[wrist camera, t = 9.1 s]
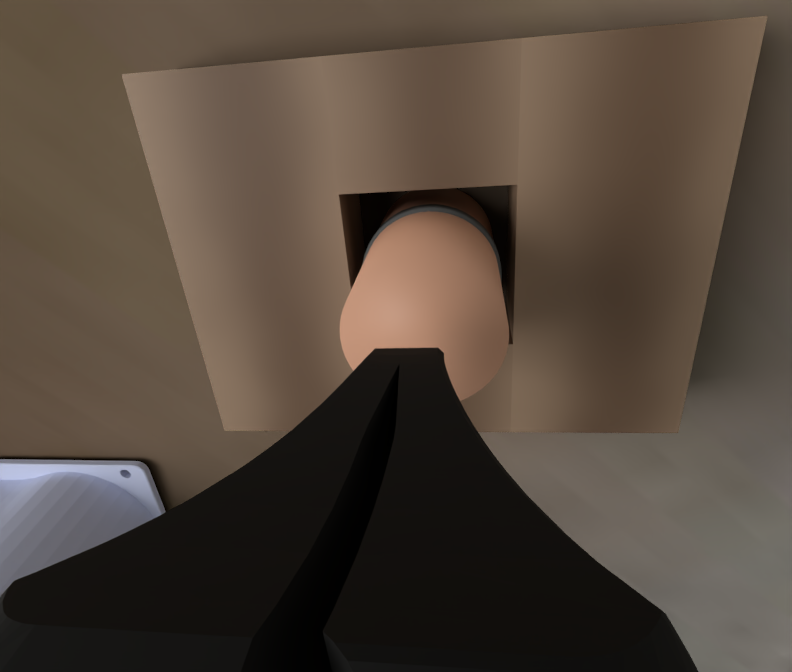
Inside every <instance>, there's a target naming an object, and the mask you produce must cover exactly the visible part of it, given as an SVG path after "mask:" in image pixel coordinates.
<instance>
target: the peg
mask: <svg viewBox="0 0 792 672" xmlns="http://www.w3.org/2000/svg"><path fill="white" fill-rule="evenodd" d="M501 278H502V273H501V264H500V258H499V253H498V250H497V247H496V244H495V242H494V240H493V234H492V229H491V225H490V222H489V219H488V217H487V215H486V213H485V212H484V210H483V209H482V207H481V206H480V205H479V204H478V203H477V202H476V201H475V200H474V199H473V198H471V197H470V196H469V195H467V194H465V193H464V192H462V191H459V190H457V189H454V188H447V189H429V190H412V191H410V192H408V193H406V194H405V195H403V196H402V197H401V198H399V199H398V200H397V201H396V202H395V203H394V204H393V205H392V206H391V207H390V209H389V210H388V212H387V213H386V215H385V217H384V219H383V221H382V223H381V225H380V227H379V229H378V230H377V231H376V233H375V234H374V236H373V237H372V239H371V241H370V243H369V245H368V248H367V250H366V252H365V255H364V259H363V265H362V267H361V269H360V272H359V274H358V276H357V278H356V280H355V283H354V285H353V287H352V289H351V291H350V294H349V296H348V298H347V300H346V303H345V305H344V308H343V310H342V314H341V319H340V340H341V345H342V349H343V352H344V355H345V357H346V359H347V361H348V363H349V365H350V367H351V368H352V370H353V371H354V370H355V369H356V368H357V366H358V365H359V364H360V363H361V362H362V361H363V360H364V359H365V358H366V357H367V356H368V355H369V354H370V353H371V352H372V351H373V350H374V349H375V348H439V349H440V350H441V351H442V352H443V353H444V362H445V366H446V369H447V372H448V375H449V378H450V380H451V383H452V385H453V388H454V390H455V392H456V394H457V396H458V398H459V400H460V401H461V400H464V399H466V398H468V397H470V396H472V395H473V394H475V393H477V392H478V391H479V390H481V389H482V388H483V387H484V386H486V385H487V384H488V383H489V382H490V381H491V380H492V378H493V377H494V376H495V375H496V374H497V372H498V370H499V369H500V367H501V366H502V363H503V361H504V359H505V356H506V353H507V349H508V343H509V325H508V320H507V314H506V308H505V303H504V297H503V291H502V285H501Z"/></svg>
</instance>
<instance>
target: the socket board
mask: <svg viewBox="0 0 792 672" xmlns="http://www.w3.org/2000/svg"><path fill="white" fill-rule="evenodd" d="M767 17H768V16H759V17H748V18H737V19H726V20H715V21H704V22H693V23H682V24H671V25H660V26H649V27H638V28H627V29H616V30H605V31H594V32H583V33H572V34H561V35H550V36H539V37H528V38H517V39H506V40H495V41H484V42H473V43H462V44H451V45H440V46H429V47H418V48H407V49H396V50H384V51H373V52H362V53H351V54H340V55H329V56H318V57H307V58H296V59H285V60H274V61H263V62H252V63H241V64H230V65H219V66H208V67H197V68H186V69H175V70H164V71H153V72H142V73H131V74H122V78H123V81H124V85H125V88H126V92H127V95H128V98H129V102H130V105H131V109H132V112H133V116H134V119H135V123H136V126H137V130H138V133H139V136H140V140H141V143H142V147H143V150H144V154H145V157H146V161H147V164H148V168H149V171H150V175H151V178H152V181H153V185H154V188H155V192H156V195H157V199H158V202H159V206H160V209H161V213H162V216H163V219H164V223H165V226H166V230H167V233H168V237H169V240H170V244H171V247H172V251H173V254H174V258H175V261H176V264H177V268H178V271H179V275H180V278H181V282H182V285H183V289H184V292H185V296H186V299H187V302H188V306H189V309H190V313H191V316H192V320H193V323H194V327H195V330H196V334H197V337H198V341H199V344H200V347H201V351H202V354H203V358H204V361H205V365H206V368H207V372H208V375H209V379H210V382H211V385H212V389H213V392H214V396H215V399H216V403H217V406H218V410H219V413H220V417H221V420H222V424H223V427H224V430H225V431H291V430H293V429H294V428H295V427H296V426H297V425H298V424H299V423H300V422H302V421H303V420H304V419H305V418H306V417H307V416H308V415H309V414H311V413H312V412H313V411H314V410H315V409H316V408H317V407H318V406H319V405H321V404H322V403H323V402H324V401H325V400H326V399H327V398H328V397H329V396H330V395H331V394H332V393H333V392H334V391H335V390H336V389H337V388H338V387H339V386H340V385H341V383H342V382H343V381H344V380H345V379H346V378H347V377H348V376H349V375H350V374H351V373H352V372H353V370H352V368H351V367H350V365H349V363H348V361H347V359H346V357H345V355H344V352H343V349H342V345H341V340H340V319H341V314H342V310H343V308H344V305H345V303H346V300H347V298H348V296H349V294H350V291H351V289H352V287H353V285H354V283H355V280H356V278H357V276H358V274H359V272H360V269H361V267H362V265H363V259H364V255H365V243H364V234H363V225H362V216H361V207H360V198H359V193H375V192H393V191H411V190H429V189H447V188H465V187H484V186H502V185H508V228H507V277H506V305H505V308H506V314H507V320H508V325H509V343H508V349H507V353H506V356H505V359H504V361H503V363H502V366H501V367H500V369H499V370H498V372H497V374H496V375H495V376H494V377H493V378H492V380H491V381H490V382H489V383H488V384H487V385H486V386H484V387H483V388H482V389H481V390H479V391H478V392H477V393H475V394H473V395H472V396H470V397H468V398H466V399H464V400H461V401H460V402H461V404H462V406H463V408H464V410H465V411H466V413H467V415H468V417H469V418H470V420H471V422H472V423H473V425H474V427H475V428H476V430H477V431H478V432H586V433H678V431H679V427H680V422H681V417H682V413H683V408H684V403H685V399H686V394H687V389H688V385H689V380H690V375H691V371H692V366H693V361H694V357H695V352H696V347H697V343H698V338H699V333H700V329H701V324H702V320H703V315H704V310H705V306H706V301H707V296H708V292H709V287H710V282H711V278H712V273H713V268H714V264H715V259H716V254H717V250H718V245H719V240H720V236H721V231H722V226H723V222H724V217H725V212H726V208H727V203H728V199H729V194H730V189H731V185H732V180H733V175H734V171H735V166H736V161H737V157H738V152H739V147H740V143H741V138H742V133H743V129H744V124H745V119H746V115H747V110H748V105H749V101H750V96H751V92H752V87H753V82H754V78H755V73H756V68H757V64H758V59H759V54H760V50H761V45H762V40H763V36H764V31H765V26H766V22H767Z"/></svg>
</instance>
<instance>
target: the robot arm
mask: <svg viewBox="0 0 792 672" xmlns="http://www.w3.org/2000/svg"><path fill="white" fill-rule="evenodd" d="M0 672H698V670H697V668H696V666H695V664H694V662H693V661H692V659H691V657H690V655H689V653H688V651H687V650H686V648H685V646H684V644H683V643H682V641H681V639H680V637H679V636H678V634H677V632H676V630H675V629H674V627H673V625H672V624H671V622H670V620H669V619H668V617H667V615H666V614H665V613H664V612H663V611H662V610H660V609H659V608H658V607H656V606H655V605H654V604H652V603H651V602H650V601H648V600H647V599H646V598H644V597H643V596H642V595H640V594H639V593H638V592H636V591H635V590H634V589H633V588H631V587H630V586H629V585H627V584H626V583H625V582H623V581H622V580H621V579H619V578H618V577H617V576H615V575H614V574H613V573H611V572H610V571H609V570H607V569H606V568H605V567H603V566H602V565H601V564H599V563H598V562H597V561H596V560H595V559H594V558H592V557H591V556H590V555H589V554H588V553H587V552H586V551H584V550H583V549H582V548H581V547H580V546H579V545H578V544H576V543H575V542H574V541H573V540H572V539H571V538H570V537H568V536H567V535H566V534H565V533H564V532H563V531H562V530H561V529H560V528H559V527H558V526H557V525H556V524H555V523H554V522H553V521H552V520H551V519H550V518H549V517H548V516H547V515H546V514H545V513H544V512H543V511H542V510H541V509H540V508H539V507H538V506H537V505H536V504H535V503H534V502H533V501H532V500H531V499H530V498H529V497H528V496H527V495H526V494H525V492H524V491H523V490H522V489H521V488H520V487H519V486H518V484H517V483H516V482H515V481H514V480H513V479H512V477H511V476H510V475H509V474H508V473H507V471H506V470H505V469H504V468H503V466H502V465H501V464H500V463H499V461H498V460H497V459H496V457H495V456H494V455H493V453H492V452H491V451H490V449H489V448H488V446H487V445H486V444H485V442H484V441H483V439H482V438H481V436H480V435H479V433H478V431H477V430H476V428H475V427H474V425H473V423H472V422H471V420H470V418H469V417H468V415H467V413H466V411H465V410H464V408H463V406H462V404H461V402H460V400H459V398H458V396H457V394H456V392H455V390H454V388H453V385H452V383H451V380H450V378H449V375H448V372H447V369H446V366H445V362H444V353H443V352H442V351H441V350H440V349H439V348H375V349H374V350H373V351H372V352H371V353H370V354H369V355H368V356H367V357H366V358H365V359H364V360H363V361H362V362H361V363H360V364H359V365H358V366H357V368H356V369H355V370H354V371H353V372H352V373H351V374H350V375H349V376H348V377H347V378H346V379H345V380H344V381H343V382H342V383H341V385H340V386H339V387H338V388H337V389H336V390H335V391H334V392H333V393H332V394H331V395H330V396H329V397H328V398H327V399H326V400H325V401H324V402H323V403H322V404H321V405H319V406H318V407H317V408H316V409H315V410H314V411H313V412H312V413H311V414H309V415H308V416H307V417H306V418H305V419H304V420H303V421H302V422H300V423H299V424H298V425H297V426H296V427H295V428H294V429H293V430H291V431H290V432H289V433H288V434H286V435H285V436H284V437H283V438H281V439H280V440H279V441H278V442H276V443H275V444H274V445H272V446H271V447H270V448H268V449H267V450H266V451H264V452H263V453H261V454H260V455H259V456H257V457H256V458H254V459H253V460H252V461H250V462H249V463H247V464H246V465H244V466H243V467H241V468H240V469H238V470H237V471H235V472H234V473H232V474H230V475H229V476H227V477H225V478H224V479H222V480H221V481H219V482H217V483H216V484H214V485H212V486H211V487H209V488H208V489H206V490H204V491H203V492H201V493H199V494H198V495H196V496H194V497H193V498H191V499H189V500H188V501H186V502H184V503H182V504H180V505H178V506H177V507H175V508H173V509H171V510H169V511H167V512H166V511H165V509H164V506H163V504H162V501H161V498H160V496H159V493H158V491H157V488H156V486H155V483H154V480H153V478H152V475H151V473H150V470H149V468H148V467H147V465H146V464H144V463H142V462H140V461H104V460H27V459H0Z"/></svg>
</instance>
